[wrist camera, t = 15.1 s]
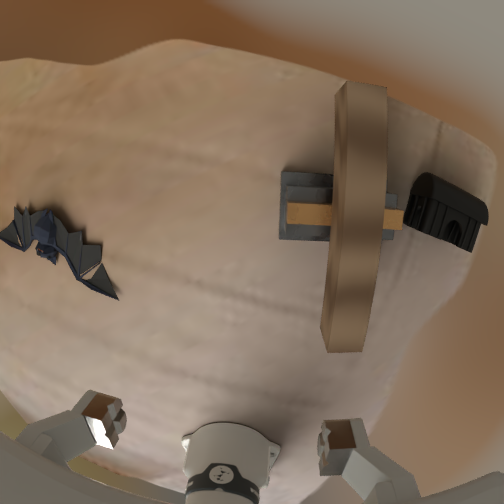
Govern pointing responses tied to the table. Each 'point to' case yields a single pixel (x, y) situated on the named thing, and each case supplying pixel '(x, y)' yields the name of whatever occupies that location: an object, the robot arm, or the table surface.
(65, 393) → the table surface
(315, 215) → the fulcrum stand
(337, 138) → the walnut beam
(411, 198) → the end cap
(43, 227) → the decorative bat
